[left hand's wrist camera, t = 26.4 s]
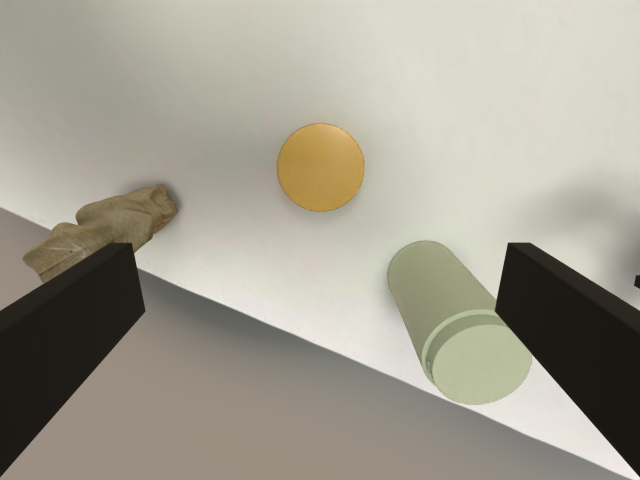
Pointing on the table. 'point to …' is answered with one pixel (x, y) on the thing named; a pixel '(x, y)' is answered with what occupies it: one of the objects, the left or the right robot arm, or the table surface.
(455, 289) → the jar
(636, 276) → the right robot arm
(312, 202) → the lid
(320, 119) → the table surface
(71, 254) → the sculpture
